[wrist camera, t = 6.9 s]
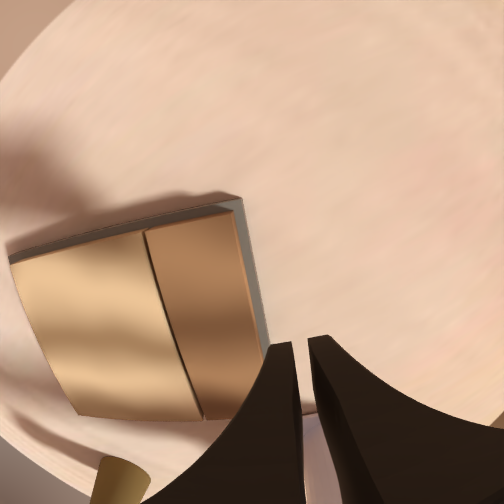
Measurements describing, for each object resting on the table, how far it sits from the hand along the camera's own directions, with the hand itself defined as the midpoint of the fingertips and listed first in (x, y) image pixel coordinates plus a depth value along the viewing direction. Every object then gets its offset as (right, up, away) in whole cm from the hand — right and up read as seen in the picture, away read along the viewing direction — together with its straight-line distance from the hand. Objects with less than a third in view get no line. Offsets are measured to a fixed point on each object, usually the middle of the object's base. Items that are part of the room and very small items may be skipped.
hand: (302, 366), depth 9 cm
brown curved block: (-4, -1, +10) cm, 11 cm away
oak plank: (-11, -2, +10) cm, 15 cm away
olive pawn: (-16, -21, +16) cm, 31 cm away
